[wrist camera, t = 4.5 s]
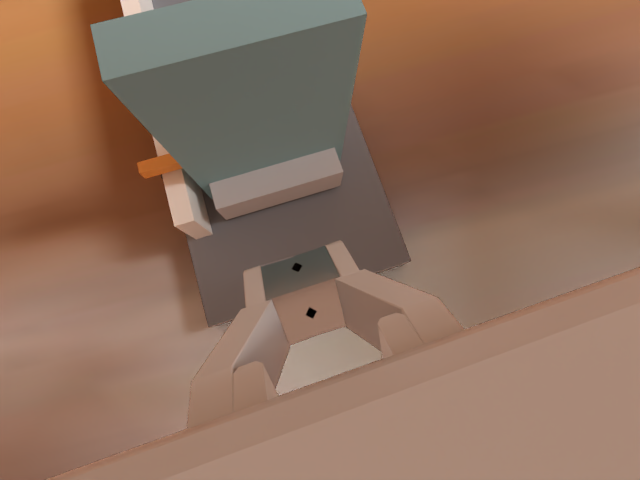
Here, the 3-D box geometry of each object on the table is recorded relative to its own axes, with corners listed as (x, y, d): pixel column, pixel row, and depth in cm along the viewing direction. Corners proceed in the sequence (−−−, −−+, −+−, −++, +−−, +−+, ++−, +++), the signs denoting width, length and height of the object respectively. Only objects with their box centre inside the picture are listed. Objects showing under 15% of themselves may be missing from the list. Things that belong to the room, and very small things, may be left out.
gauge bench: (270, -88, 26) (237, -391, 15) (403, 264, 20) (518, 207, 9) (121, -55, 25) (-37, -354, 14) (216, 325, 19) (78, 348, 8)
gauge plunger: (322, 112, 20) (330, -72, 10) (348, 183, 19) (384, 53, 10) (161, 156, 19) (7, 1, 10) (180, 233, 18) (29, 148, 9)
